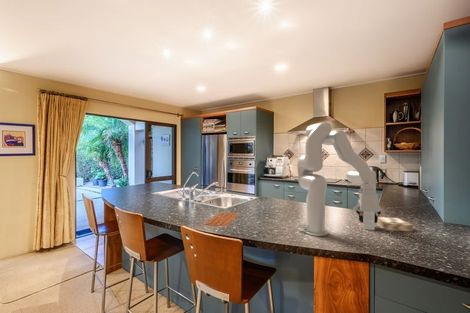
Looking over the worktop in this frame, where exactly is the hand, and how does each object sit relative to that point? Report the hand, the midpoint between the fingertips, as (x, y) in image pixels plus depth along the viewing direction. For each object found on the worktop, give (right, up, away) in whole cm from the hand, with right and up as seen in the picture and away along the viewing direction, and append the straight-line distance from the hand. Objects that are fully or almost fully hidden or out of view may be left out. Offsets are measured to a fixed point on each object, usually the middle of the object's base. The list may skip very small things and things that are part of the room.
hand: (368, 222), depth 129 cm
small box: (0, -4, 0) cm, 4 cm away
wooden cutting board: (-85, -4, +17) cm, 87 cm away
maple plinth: (+15, -3, +2) cm, 16 cm away
